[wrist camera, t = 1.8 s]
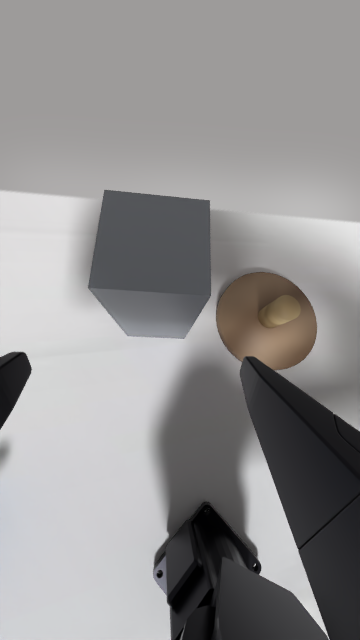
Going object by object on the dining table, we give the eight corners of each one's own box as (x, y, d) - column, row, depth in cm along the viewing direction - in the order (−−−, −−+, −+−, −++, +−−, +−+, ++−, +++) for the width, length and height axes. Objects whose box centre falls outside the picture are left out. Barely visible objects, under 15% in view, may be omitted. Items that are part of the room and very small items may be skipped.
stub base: (326, 323, 24) (365, 310, 19) (270, 392, 21) (300, 397, 16) (257, 260, 25) (278, 235, 21) (196, 318, 22) (204, 303, 18)
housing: (184, 338, 22) (210, 295, 10) (127, 336, 21) (88, 288, 10) (185, 287, 23) (209, 200, 12) (132, 283, 23) (104, 189, 11)
